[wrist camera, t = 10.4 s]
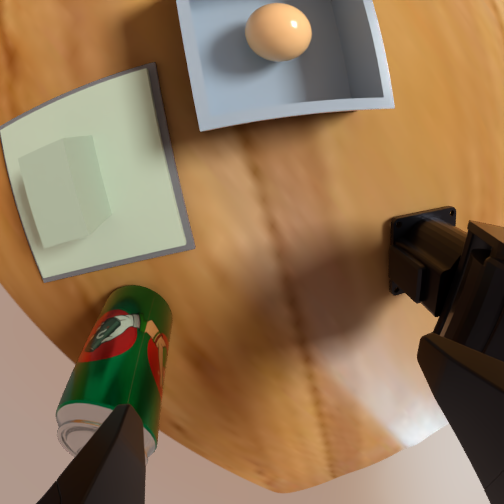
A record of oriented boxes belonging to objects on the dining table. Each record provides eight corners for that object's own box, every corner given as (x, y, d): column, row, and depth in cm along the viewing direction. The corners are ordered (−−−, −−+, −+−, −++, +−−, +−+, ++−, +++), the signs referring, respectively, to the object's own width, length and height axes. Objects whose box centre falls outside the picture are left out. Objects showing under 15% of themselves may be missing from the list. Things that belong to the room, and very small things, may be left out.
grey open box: (329, -21, 14) (355, -49, 10) (358, 110, 18) (394, 108, 14) (177, -10, 13) (169, -43, 9) (203, 131, 17) (200, 131, 13)
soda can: (96, 315, 21) (40, 443, 10) (127, 267, 20) (64, 402, 9) (151, 349, 23) (129, 485, 12) (186, 307, 22) (176, 454, 11)
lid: (148, 69, 15) (128, 52, 11) (186, 241, 19) (180, 273, 15) (4, 129, 14) (-37, 135, 10) (46, 274, 19) (17, 307, 15)
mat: (155, 63, 15) (154, 61, 15) (195, 246, 20) (195, 248, 20) (1, 126, 15) (-2, 127, 14) (46, 280, 19) (44, 282, 19)
